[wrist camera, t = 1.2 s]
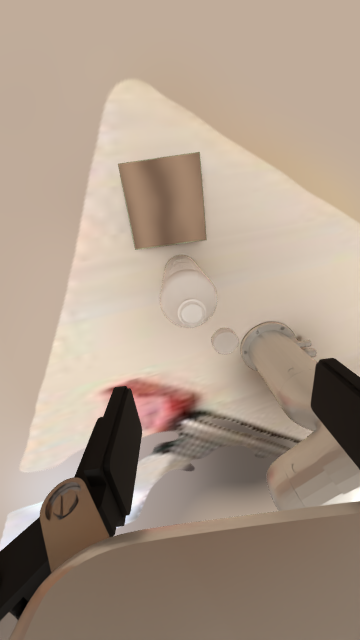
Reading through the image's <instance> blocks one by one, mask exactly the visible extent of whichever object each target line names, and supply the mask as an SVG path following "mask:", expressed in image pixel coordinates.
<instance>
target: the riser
mask: <svg viewBox="0 0 360 640" xmlns="http://www.w3.org/2000/svg"><path fill="white" fill-rule="evenodd" d="M118 167H119V172H120V177H121V182H122V187H123V192H124V197H125V202H126V207H127V212H128V217H129V222H130V227H131V232H132V237H133V242H134V246H135V250H138V249H146V248H153V247H160V246H167V245H174V244H181V243H188V242H196V241H203V240H207V239H206V226H205V213H204V200H203V187H202V174H201V161H200V152H196V153H189V154H182V155H175V156H168V157H161V158H155V159H148V160H141V161H134V162H127V163H120V164H118Z"/></svg>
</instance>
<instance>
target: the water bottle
mask: <svg viewBox="0 0 360 640" xmlns="http://www.w3.org/2000/svg"><path fill="white" fill-rule="evenodd" d="M160 305H161V309H162V311H163V313H164V315H165V316H166V317H167V319H168V320H169V321H171V322H172V323H174V324H175V325H177V326H180V327H185V328H193V327H197V326H199V325H202V324H203V323H205V322H206V321H207V320H208V319H209V318H210V317H211V316H212V315H213V313H214V311H215V308H216V305H217V293H216V289H215V287H214V285H213V283H212V282H211V280H210V279H209V278H208V277H207V276H206V275H205V274H204V273H203V271H202V270H201V269H200V268H199V266H198V265H197V264H196V263H195V262H194V260H193V259H191V258H190V257H188V256H185V255H178V256H175V257H173V258H171V259H170V260H169V261H168V263H167V265H166V267H165V272H164V278H163V284H162V289H161V292H160ZM211 341H212V345H213V347H214V349H215V351H216V352H218V353H220V354H230V353H232V352H233V351H235V350H236V348H237V347H238V343H239V340H238V338H237V336H236V334H235V332H234V331H233V330H231V329H229V328H221V329H218V330H217V331H216V332H215V333H214V334H213V336H212V339H211Z"/></svg>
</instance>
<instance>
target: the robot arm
mask: <svg viewBox="0 0 360 640" xmlns="http://www.w3.org/2000/svg"><path fill="white" fill-rule="evenodd" d="M309 346H311V341H310V340H305V341H298V340H296V337H295V335H294V333H293V331H291V330H290V329H289V328H288V327H287V326H285V325H283V324H281V323H277V322H268V323H264V324H260V325H258V326H256V327H255V328H253V329H252V330H251V331H250V332H249V333H248V334H247V335H246V336H245V338H244V339H243V342H242V345H241V356H242V358H243V360H244V362H245V363H246V364H247V365H248V367H250V368H251V369H253V370H256V371H259V373H260V375H261V376H262V378H263V379H264V381H265V382H266V384H267V386H268V387H269V389H270V390H271V392H272V393H273V395H274V397H275V398H276V400H277V401H278V403H279V404H280V406H281V407H282V409H283V410H284V412H285V413H286V415H287V416H288V417H289V418H290V419H291V420H293V421H294V422H295V423H297V424H298V425H300V426H302V427H304V428H307V429H309V430H312V431H314V432H313V433H311V434H310V435H309V436H307V438H306V439H304V440H303V441H301V442H300V443H299V444H297V445H296V446H294V447H293V448H291V449H290V450H289V451H287V452H286V453H284V454H283V455H282V456H280V457H279V458H278V459H277V460H275V461H274V462H273V463H272V464H271V466H270V467H269V469H268V471H267V485H268V489H269V492H270V495H271V497H272V499H273V501H274V503H275V505H276V507H277V509H278V511H276V512H267V513H259V514H251V515H244V516H236V517H229V518H221V519H213V520H206V521H198V522H191V523H184V524H176V525H171V526H163V527H158V528H151V529H144V530H138V531H134V532H130V533H125V534H120V535H117V536H114V535H115V530H116V527H119V526H124V524H125V518H126V515H129V514H130V511H131V505H132V498H133V491H134V485H135V478H136V471H137V464H138V457H139V450H140V443H141V437H142V427H141V423H140V419H139V416H138V412H137V409H136V405H135V402H134V398H133V394H132V391H131V389H130V388H129V389H128V388H127V387H126V386H122V387H115V388H114V389H113V392H112V395H111V397H110V400H109V403H108V405H107V408H106V411H105V414H104V416H103V417H100V418H98V420H97V422H96V424H95V427H94V429H93V432H92V434H91V437H90V439H89V442H88V444H87V447H86V449H85V452H84V454H83V457H82V459H81V462H80V464H79V467H78V470H77V472H76V474H75V477H74V478H70V479H67V480H65V481H63V482H61V483H60V484H58V485H57V486H56V487H55V488H54V489H53V490H52V491H51V492H50V493H49V494H48V496H47V497H46V499H45V500H44V502H43V504H42V507H41V510H40V517H39V518H38V519H37V520H36V521H34V522H33V523H32V524H31V525H30V526H29V527H28V528H27V529H25V530H24V531H23V532H22V533H21V534H20V535H19V536H17V537H16V538H15V539H14V540H13V541H12V542H11V543H9V544H8V545H7V546H6V547H5V548H4V549H3V550H1V551H0V640H360V377H359V376H357V375H356V374H355V373H353V372H352V371H351V370H349V369H348V368H347V367H345V366H344V365H343V364H341V363H340V362H339V361H337V360H336V359H334V358H328V359H321V360H319V362H318V363H317V362H316V361H315V360H314V359H313V358H312V357H315V356H316V350H315V349H314V348H309V349H304V350H302V349H301V347H309ZM113 536H114V537H113Z"/></svg>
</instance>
